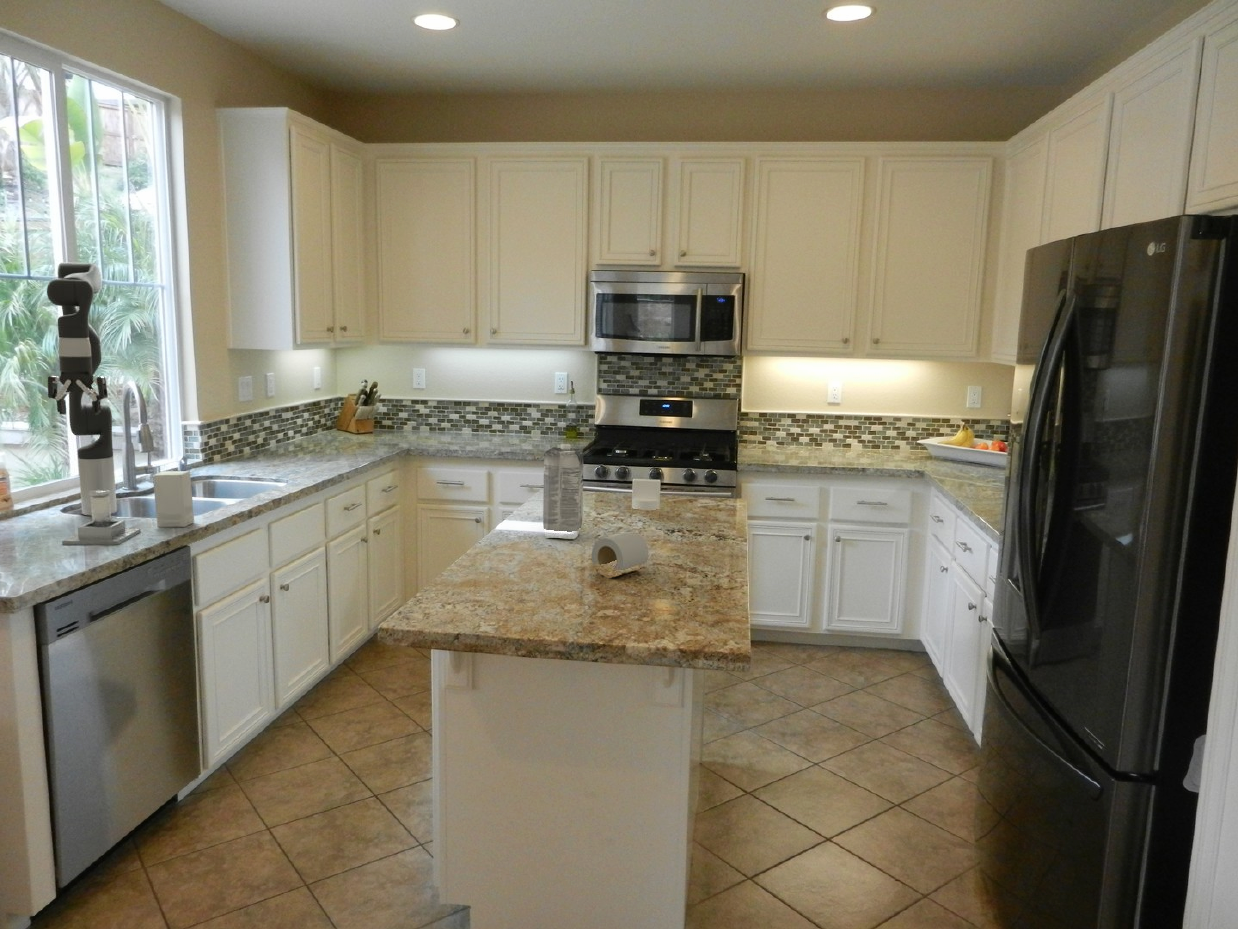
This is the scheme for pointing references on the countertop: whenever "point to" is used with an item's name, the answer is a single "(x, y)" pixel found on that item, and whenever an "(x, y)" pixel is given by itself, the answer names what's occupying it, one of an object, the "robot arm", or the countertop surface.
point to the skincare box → (173, 498)
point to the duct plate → (101, 534)
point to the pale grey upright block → (100, 508)
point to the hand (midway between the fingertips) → (79, 414)
